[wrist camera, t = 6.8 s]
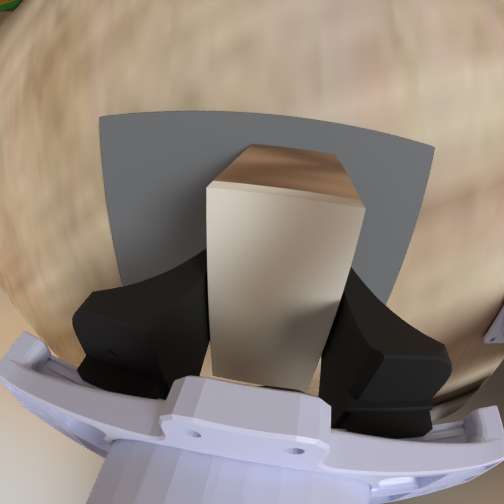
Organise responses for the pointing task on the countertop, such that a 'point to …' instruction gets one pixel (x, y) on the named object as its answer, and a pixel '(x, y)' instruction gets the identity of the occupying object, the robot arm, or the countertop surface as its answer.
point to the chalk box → (8, 5)
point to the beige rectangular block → (277, 261)
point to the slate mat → (220, 157)
